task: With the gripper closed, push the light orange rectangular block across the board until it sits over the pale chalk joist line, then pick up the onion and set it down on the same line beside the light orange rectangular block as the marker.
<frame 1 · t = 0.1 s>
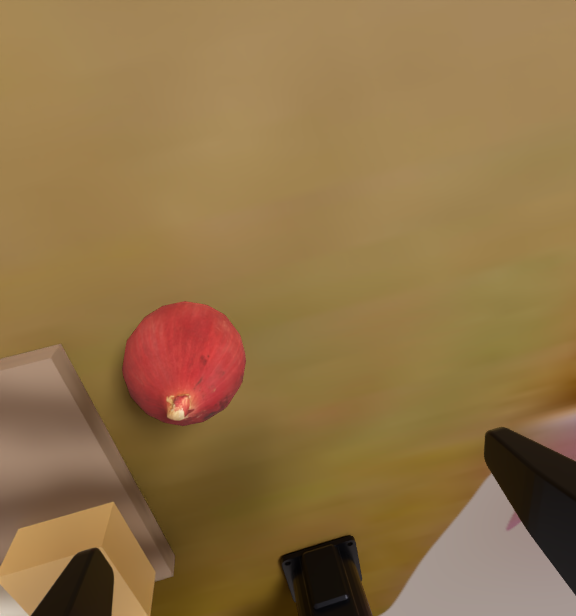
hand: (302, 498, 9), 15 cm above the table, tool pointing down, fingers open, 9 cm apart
onion: (190, 325, 22), on the table
light orange rectangular block: (92, 552, 26), point 1 cm above the table, touching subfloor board
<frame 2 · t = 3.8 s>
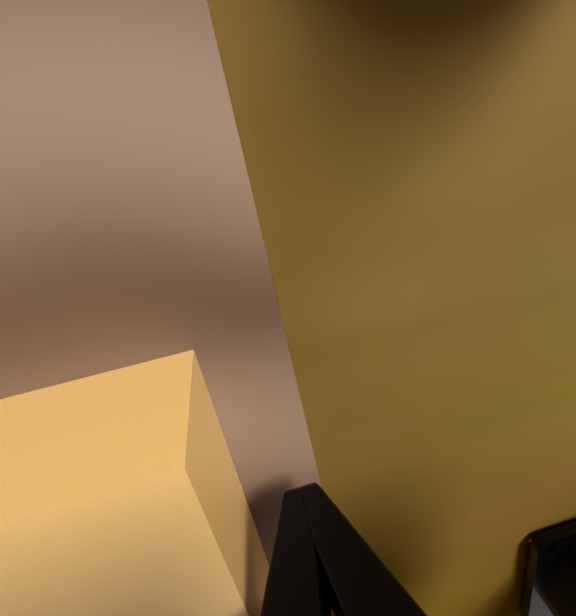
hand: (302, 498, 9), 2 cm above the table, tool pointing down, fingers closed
light orange rectangular block: (118, 521, 9), point 2 cm above the table, touching gripper
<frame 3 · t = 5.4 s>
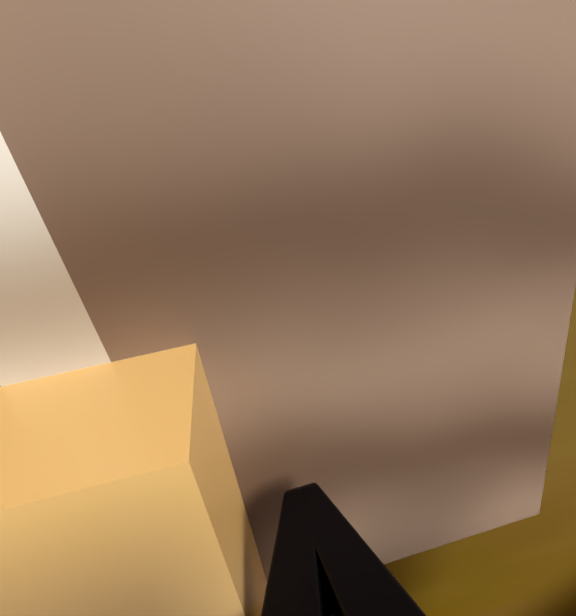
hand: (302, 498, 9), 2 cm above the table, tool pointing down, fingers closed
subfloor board: (157, 280, 8), on the table
light orange rectangular block: (110, 517, 9), point 1 cm above the table, touching gripper, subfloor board
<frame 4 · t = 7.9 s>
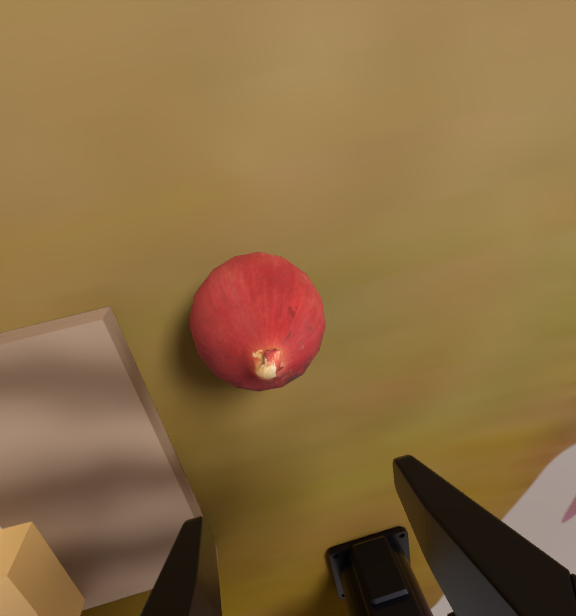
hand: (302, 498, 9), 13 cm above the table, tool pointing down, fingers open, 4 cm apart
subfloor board: (24, 491, 23), on the table
onion: (250, 288, 20), on the table
light orange rectangular block: (9, 576, 23), point 1 cm above the table, touching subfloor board
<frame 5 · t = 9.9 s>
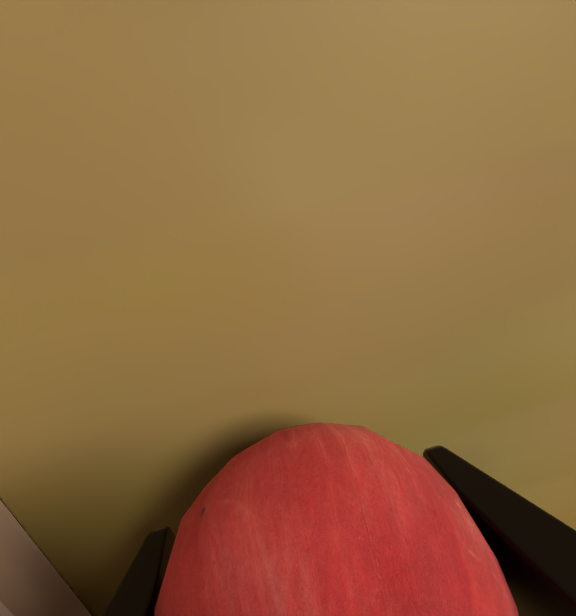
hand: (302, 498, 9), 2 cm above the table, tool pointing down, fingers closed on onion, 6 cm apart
onion: (288, 438, 10), on the table, touching gripper
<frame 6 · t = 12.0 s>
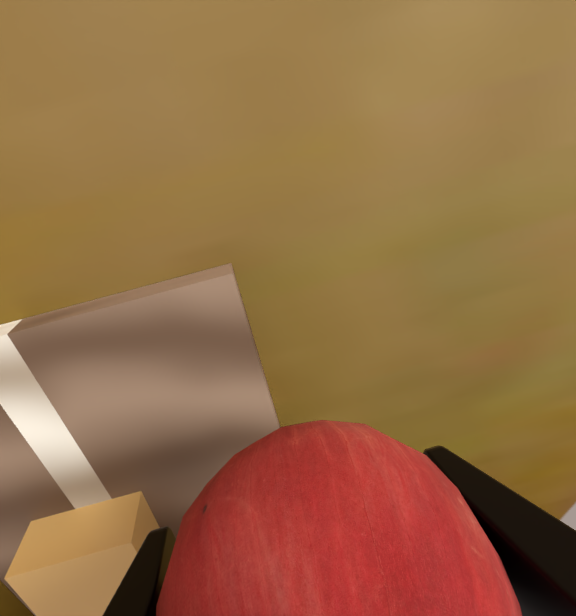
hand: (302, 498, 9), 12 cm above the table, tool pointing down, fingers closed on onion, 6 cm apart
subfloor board: (128, 461, 22), on the table
onion: (289, 437, 10), point 10 cm above the table, touching gripper
light orange rectangular block: (113, 549, 23), point 1 cm above the table, touching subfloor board
when the fingers open (5 cm above the table, at t = 14.4 s): onion drops 2 cm, resting on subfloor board.
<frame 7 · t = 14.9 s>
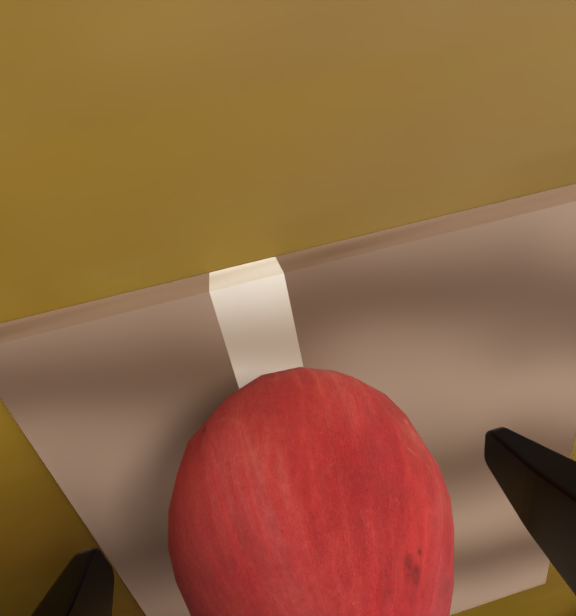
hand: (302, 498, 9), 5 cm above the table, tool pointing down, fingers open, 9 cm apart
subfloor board: (346, 476, 16), on the table
onion: (279, 394, 12), point 1 cm above the table, touching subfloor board
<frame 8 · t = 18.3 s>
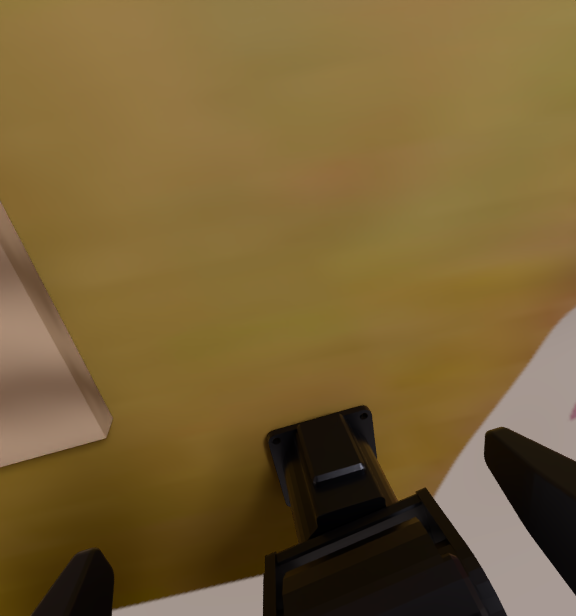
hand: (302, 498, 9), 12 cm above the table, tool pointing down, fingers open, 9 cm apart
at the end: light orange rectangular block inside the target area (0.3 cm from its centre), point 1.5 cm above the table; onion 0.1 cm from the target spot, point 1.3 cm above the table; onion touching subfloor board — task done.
